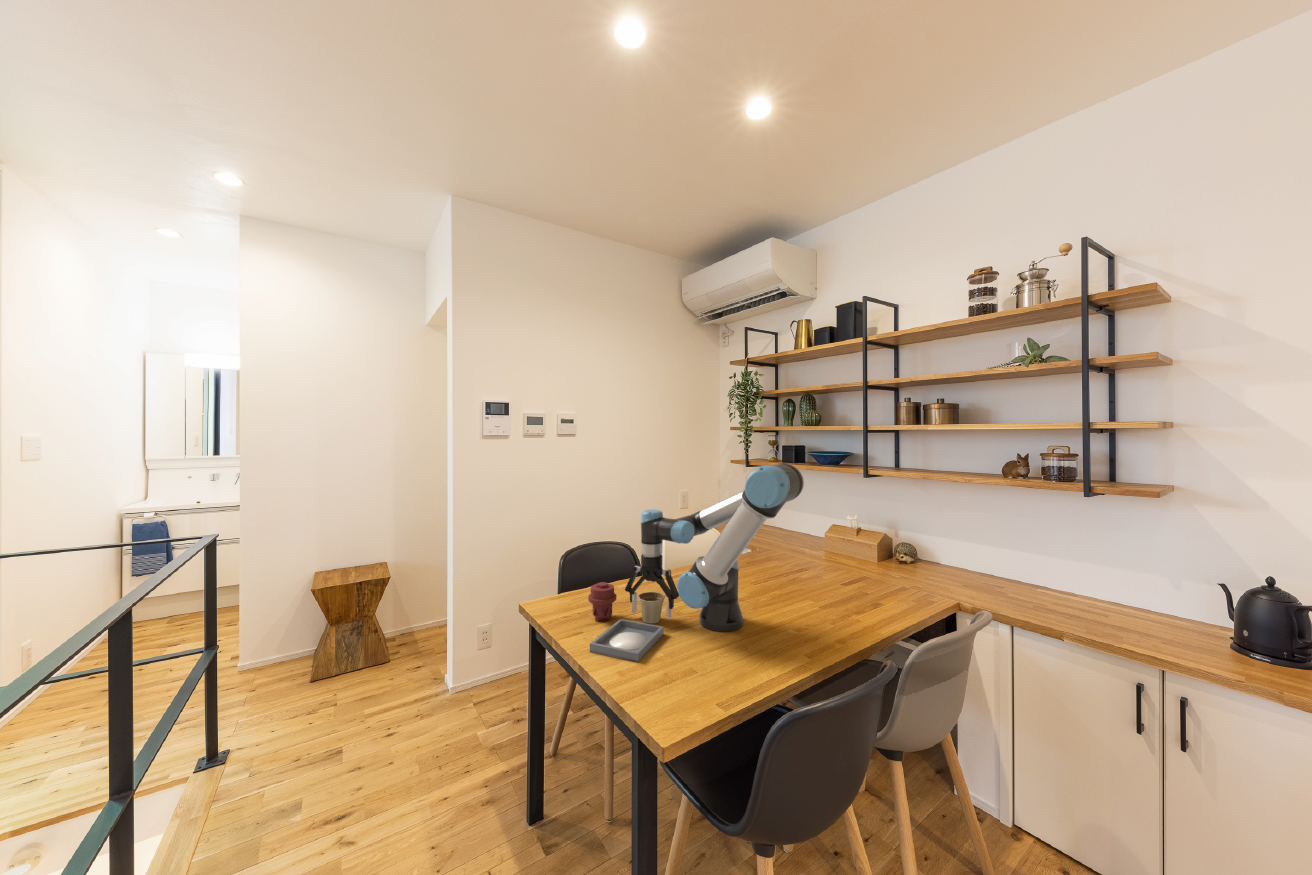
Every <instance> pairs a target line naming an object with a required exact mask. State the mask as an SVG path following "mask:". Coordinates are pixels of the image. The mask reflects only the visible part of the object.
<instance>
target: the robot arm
mask: <svg viewBox="0 0 1312 875" xmlns="http://www.w3.org/2000/svg"><path fill="white" fill-rule="evenodd" d="M804 482H805V481H804V476H803V475H802V473H801V471H800V470H799V469H798V468H797V467H796V466H794V465H792V464H789V463H778V464H777V463H776V464H766V465H761V466H759V467H758V468H755V469H754V470H752V471H751V473H749V474H748V476H747V478H746V480H745V483H744V489H742V490H740V491H738V492H736V493H734V494H731V495H730V496H728V497H726V498H723V499H721V500H720V501H719V500H718V501H717V502H715V503H713V504H711V505H709V506H707V507H704V508H703V509H701V510H699V511H695V513H693V514H690V515H686V516H682V517H678V518H667V517H664V515H663V514H664V513H663V511H662V510H660V509H646V510H643V511H642V512H641V518H640V519H641V520H640V521H641V522H640V532H641V533H640V534H641V540H640V544H641V545H640V554H641V555H640V561H641V562H640V566H639V565H638V564H636V565H634V566H633V567H632V572H631V576H630V577H629V580H628V582H627V584H626V586H625V588H624V591H625V592H627V593H629V602H630V603H631V613H632V614H635V613H636V612H637V611H638V592H637V590H638V588H639V587H640V586H641V585H642V584H643V583H644V581H646V582H653V583H657V585H659V587H660V588H661V590H662V592H663V594H664V595H665V597H667V599H666V620H669V619H670V618H672V610H673V609H674V607H675V600H677V599H678V598H680V599H681V601H682V602H683V603H684V604H685V605H686V606H687V607H689V608H691V609H695V610H696V609H697V610H698V609H700V612H699V619H698V620H699V624H700V625H701V626H702V627H703V628H705V629H708V630H711V631H715V632H733V631H736V630H737V631H738V630H739V629H741V628H742V627H743V626H744V616H743V612H742V610H741V606H740V603H739V570H740V569H739V562H738V559H739V558H740V556H741V555H742V554H743V553H744V551H745V549H746V548H747V547H748V545H749V544H750V543H751V541H752V539H753V538H754V537H755V536H756V534H757V533H758V531H759V530H760V529H761V528H762V526H763V525H764V524H765V523H766V521H767V519H774V518H775V517H776V516H777V515H778V514H779V513H780V511H781V509H782V508H783V506H784V505H785V504H786V503H788V502H790V501H793V500H795V499H796V498H798V497H799V496H800V495H801V493H802V492H803V490H804V485H805V484H804ZM726 523H727V524H726ZM723 524H726V525H725V527H724V528H723V529H722V531H721V533H720V534H719V536H718V537H717V538H716V540H715V541H714V542H713V544H712V545H711V547H710V548H709V549H708V551H707V552H706V554H705V556H699V557H697V559H696V560H695V562H694V563H693V564H692V566H691V567H690V569H689V570H688V571H685V572H684V573H682V574H681V575H680V576H679V578H678V579H677V582H676V584H675V581H674V579H673V577H672V570H671V569H663V555H662V554H663V541H667V542H673V543H676V544H685V545H686V544H689V543H691V542H692V540H693V538H694V537H697V536H699V535H704V534H705V533H707V532H708V531H711V530H712V529H714V528H716V527H719V526H721V525H723ZM639 572H640V573H641V576H640V578H639V579H638V580H637V582H636V583H635V584H634V582H635V580H636V578H637V575H638V574H639ZM663 576H664V577H665V579H664V577H663ZM665 580H666V582H667V583H666V582H665ZM633 584H634V586H633ZM676 585H677V586H676ZM632 586H633V587H632Z"/></svg>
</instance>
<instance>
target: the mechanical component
mask: <svg viewBox="0 0 1312 875" xmlns="http://www.w3.org/2000/svg"><path fill="white" fill-rule="evenodd" d="M616 601H617V594H616V593H615V586H614V585H613V584H611V583H609V582H604V581H601V582H597V583H595V584H593V585H591V586H590V594H589V595H588V602H589V603H590V604H592V616H593V617H594V621H595V622H599V621H603V620H604V621H605V620H611V619H612V617H613V616H612V614H613V603H614V602H616Z"/></svg>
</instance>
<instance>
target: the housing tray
mask: <svg viewBox="0 0 1312 875" xmlns="http://www.w3.org/2000/svg"><path fill="white" fill-rule="evenodd" d="M664 629H665V627H664V626H661V625H657V624H650V623H645V622H639V621H635V620H634V621H633V620H628V619H623V618H619V620H617V621H616V622H615V623H614V624H612V625H611V626H610V627H609V628H607V629H606V630H605V631H604V632H602V633H601V634H600V635H598V636H597V637H596V638H595V639H594V640H593V641H591V642H590V643H589V653H593V654H598V655H603V656H607V657H612V658H617V659H621V660H625V661H630V662H635V663H638V662H640V660H641V659H643V657H644V656H645V655H646V654H647V653H648V652H649V651H650V649H652V648H653V646H654V645H656V643H657V642H658V641H659V640H660V639H661V638H662V637H663V636H664V634H665V633H664Z"/></svg>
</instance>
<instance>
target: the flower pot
mask: <svg viewBox="0 0 1312 875" xmlns="http://www.w3.org/2000/svg"><path fill="white" fill-rule="evenodd" d="M665 597H666V594H664V593H661V592H657V591H646V592H641V593H639V595H637V599H639V600H638V601H639V603H640V609H641V616H642V618H641V619H642V621H643V622H642V623H646V624H651V625H656V624H658V623H659V622H660V621H661V616H662V610H663V604H664V602H665Z"/></svg>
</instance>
